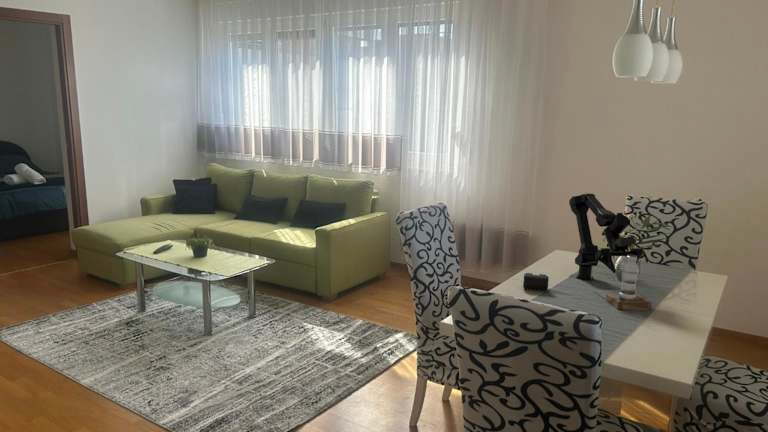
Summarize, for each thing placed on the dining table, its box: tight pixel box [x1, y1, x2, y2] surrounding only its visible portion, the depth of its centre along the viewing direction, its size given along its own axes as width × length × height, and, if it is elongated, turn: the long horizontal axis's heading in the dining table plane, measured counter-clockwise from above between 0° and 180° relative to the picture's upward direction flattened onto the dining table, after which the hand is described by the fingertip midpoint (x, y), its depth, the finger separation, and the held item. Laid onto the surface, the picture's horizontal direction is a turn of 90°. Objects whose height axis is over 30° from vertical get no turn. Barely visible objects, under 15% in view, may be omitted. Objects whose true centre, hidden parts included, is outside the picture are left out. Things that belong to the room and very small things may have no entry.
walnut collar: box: [605, 292, 653, 311], centre depth 230 cm, size 10×13×3 cm
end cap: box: [522, 272, 550, 292], centre depth 245 cm, size 10×7×7 cm
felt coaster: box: [592, 289, 620, 301], centre depth 241 cm, size 12×12×1 cm
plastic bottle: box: [618, 255, 640, 302], centre depth 230 cm, size 6×7×20 cm
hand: (625, 272), depth 232 cm, fingers open, 9 cm apart
